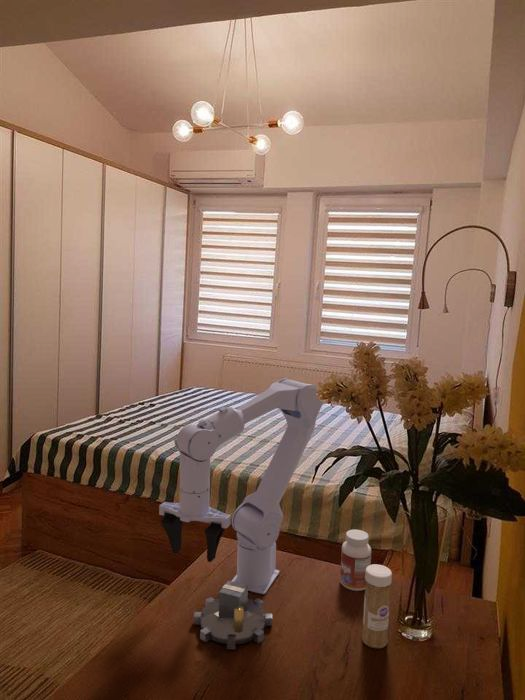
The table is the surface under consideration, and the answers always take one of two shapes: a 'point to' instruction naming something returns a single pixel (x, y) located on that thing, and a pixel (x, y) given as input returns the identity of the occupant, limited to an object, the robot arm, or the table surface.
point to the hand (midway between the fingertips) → (193, 555)
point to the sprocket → (233, 623)
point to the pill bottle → (355, 560)
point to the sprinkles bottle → (376, 605)
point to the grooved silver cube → (232, 599)
